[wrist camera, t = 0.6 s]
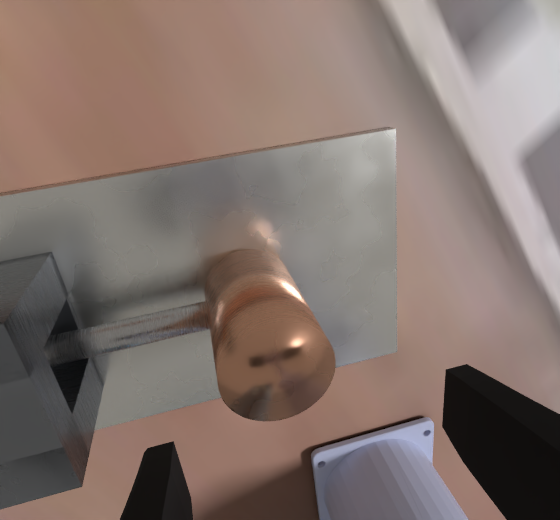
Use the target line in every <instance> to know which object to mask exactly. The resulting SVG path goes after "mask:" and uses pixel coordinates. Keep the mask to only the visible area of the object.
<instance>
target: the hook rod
mask: <svg viewBox="0 0 560 520" xmlns="http://www.w3.org/2000/svg"><path fill="white" fill-rule="evenodd" d="M205 330H210V335H211V342H212V349H213V355H214V362H215V369H216V376H217V383H218V389H219V392H220V395H221V397H222V399H223V401H224V402H225V404H226V405H227V406H228V407H229V408H230V409H231V410H232V411H234V412H235V413H237V414H238V415H240V416H242V417H245V418H248V419H251V420H256V421H276V420H282V419H286V418H289V417H292V416H294V415H297V414H299V413H301V412H303V411H305V410H306V409H308V408H309V407H311V406H312V405H313V404H314V403H316V402H317V401H318V400H319V399H320V398H321V397H322V396H323V394H324V393H325V392H326V390H327V389H328V387H329V385H330V384H331V381H332V379H333V376H334V373H335V367H336V359H335V353H334V350H333V347H332V346H331V344H330V342H329V340H328V338H327V337H326V335H325V333H324V332H323V330H322V328H321V326H320V325H319V323H318V321H317V320H316V318H315V316H314V314H313V313H312V311H311V309H310V308H309V306H308V304H307V302H306V301H305V299H304V297H303V296H302V294H301V292H300V290H299V289H298V287H297V285H296V284H295V282H294V280H293V278H292V277H291V275H290V273H289V272H288V270H287V268H286V266H285V265H284V264H283V263H282V262H281V261H280V260H279V259H278V258H277V257H276V256H274V255H272V254H270V253H268V252H265V251H262V250H255V249H247V250H241V251H237V252H234V253H232V254H230V255H228V256H226V257H224V258H223V259H222V260H220V261H219V262H218V263H217V264H216V265H215V266H214V267H213V269H212V270H211V272H210V273H209V275H208V277H207V280H206V283H205V301H204V302H199V303H195V304H190V305H186V306H181V307H177V308H172V309H168V310H164V311H159V312H155V313H150V314H146V315H141V316H137V317H132V318H128V319H123V320H119V321H114V322H110V323H105V324H101V325H96V326H92V327H87V328H83V329H78V330H74V331H69V332H65V333H60V334H56V335H51V336H49V337H48V339H47V342H46V344H45V346H44V348H43V351H44V353H45V356H46V358H47V360H48V362H49V364H50V367H51V366H55V365H60V364H64V363H68V362H72V361H77V360H81V359H85V358H90V357H94V356H98V355H102V354H107V353H111V352H115V351H120V350H124V349H128V348H132V347H137V346H141V345H145V344H150V343H154V342H158V341H162V340H167V339H171V338H175V337H180V336H184V335H188V334H192V333H197V332H201V331H205Z"/></svg>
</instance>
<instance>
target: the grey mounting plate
mask: <svg viewBox="0 0 560 520" xmlns="http://www.w3.org/2000/svg"><path fill="white" fill-rule="evenodd" d="M247 249H255V250H262V251H265V252H268V253H270V254H272V255H274V256H276V257H277V258H278V259H279V260H280V261H281V262H282V263H283V264H284V265H285V266H286V268H287V270H288V272H289V273H290V275H291V277H292V278H293V280H294V282H295V284H296V285H297V287H298V289H299V290H300V292H301V294H302V296H303V297H304V299H305V301H306V302H307V304H308V306H309V308H310V309H311V311H312V313H313V314H314V316H315V318H316V320H317V321H318V323H319V325H320V326H321V328H322V330H323V332H324V333H325V335H326V337H327V338H328V340H329V342H330V344H331V346H332V347H333V350H334V353H335V359H336V367H335V368H337V367H340V366H344V365H348V364H352V363H356V362H360V361H364V360H367V359H371V358H375V357H379V356H383V355H387V354H391V353H394V352H397V232H396V129H395V128H391V127H387V128H381V129H375V130H369V131H364V132H358V133H352V134H346V135H340V136H334V137H328V138H322V139H317V140H311V141H305V142H299V143H293V144H287V145H281V146H276V147H270V148H264V149H258V150H252V151H246V152H240V153H234V154H229V155H223V156H217V157H211V158H205V159H199V160H193V161H187V162H182V163H176V164H170V165H164V166H158V167H152V168H146V169H140V170H135V171H129V172H123V173H117V174H111V175H105V176H99V177H93V178H88V179H82V180H76V181H70V182H64V183H58V184H52V185H46V186H41V187H35V188H29V189H23V190H17V191H11V192H5V193H0V509H3V508H7V507H10V506H14V505H18V504H21V503H25V502H28V501H32V500H36V499H39V498H43V497H46V496H50V495H54V494H57V493H61V492H64V491H68V490H72V489H75V488H79V487H82V484H83V480H84V475H85V471H86V466H87V461H88V457H89V452H90V448H91V443H92V438H93V434H94V430H98V429H101V428H105V427H109V426H113V425H117V424H121V423H125V422H128V421H132V420H136V419H140V418H144V417H148V416H152V415H155V414H159V413H163V412H167V411H171V410H175V409H179V408H182V407H186V406H190V405H194V404H198V403H202V402H206V401H209V400H213V399H217V398H221V395H220V392H219V389H218V383H217V376H216V369H215V362H214V355H213V349H212V342H211V335H210V330H205V331H201V332H197V333H192V334H188V335H184V336H180V337H175V338H171V339H167V340H162V341H158V342H154V343H150V344H145V345H141V346H137V347H132V348H128V349H124V350H120V351H115V352H111V353H107V354H102V355H98V356H94V357H90V358H85V359H81V360H77V361H72V362H68V363H64V364H60V365H55V366H51V367H50V364H49V362H48V360H47V358H46V356H45V353H44V351H43V348H44V346H45V344H46V342H47V339H48V337H49V336H51V335H56V334H60V333H65V332H69V331H74V330H78V329H83V328H87V327H92V326H96V325H101V324H105V323H110V322H114V321H119V320H123V319H128V318H132V317H137V316H141V315H146V314H150V313H155V312H159V311H164V310H168V309H172V308H177V307H181V306H186V305H190V304H195V303H199V302H204V301H205V283H206V280H207V277H208V275H209V273H210V272H211V270H212V269H213V267H214V266H215V265H216V264H217V263H218V262H219V261H220V260H222V259H223V258H224V257H226V256H228V255H230V254H232V253H234V252H237V251H241V250H247Z"/></svg>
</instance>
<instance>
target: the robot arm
mask: <svg viewBox="0 0 560 520" xmlns="http://www.w3.org/2000/svg"><path fill="white" fill-rule="evenodd" d="M442 427H443V428H444V430H445V432H446V434H447V435H448V437H449V439H450V441H451V442H452V444H453V446H454V448H455V449H456V451H457V452H458V454H459V456H460V457H461V459H462V461H463V462H464V464H465V465H466V466H467V468H468V469H469V470H470V472H471V473H472V475H473V476H474V477H475V479H476V480H477V481H478V483H479V484H480V485H481V486H482V488H483V489H484V490H485V492H486V493H487V494H488V496H489V497H490V498H491V500H492V501H493V502H494V504H495V505H496V506H497V508H498V509H499V510H500V511H501V513H502V514H503V515H504V517H505V518H506V519H507V520H560V414H558V413H556V412H554V411H552V410H550V409H548V408H546V407H545V406H543V405H541V404H539V403H537V402H535V401H533V400H531V399H530V398H528V397H526V396H524V395H522V394H520V393H519V392H517V391H515V390H513V389H511V388H510V387H508V386H506V385H504V384H502V383H500V382H499V381H497V380H495V379H493V378H491V377H490V376H488V375H486V374H484V373H482V372H480V371H479V370H477V369H475V368H473V367H471V366H469V365H467V364H466V365H462V366H458V367H454V368H450V369H447V370H446V376H445V392H444V408H443V424H442ZM433 434H434V423H433V421H432V420H431V419H430V418H428V417H424V418H421V419H417V420H414V421H410V422H407V423H403V424H400V425H396V426H393V427H389V428H386V429H383V430H379V431H376V432H372V433H369V434H365V435H362V436H358V437H355V438H351V439H348V440H344V441H341V442H337V443H334V444H331V445H327V446H324V447H320V448H317V449H315V450H314V451H313V452H312V454H311V460H312V467H313V475H314V483H315V490H316V498H317V506H318V513H319V520H469V519H468V518H467V516H466V515H465V513H464V512H463V510H462V509H461V507H460V506H459V504H458V503H457V501H456V500H455V498H454V497H453V495H452V494H451V492H450V491H449V489H448V488H447V486H446V485H445V483H444V482H443V480H442V479H441V477H440V476H439V474H438V473H437V471H436V470H435V468H434V467H433V465H432V457H433ZM120 520H193V514H192V503H191V496H190V493H189V490H188V487H187V484H186V480H185V477H184V474H183V471H182V467H181V464H180V461H179V458H178V454H177V451H176V448H175V445H174V441H173V442H169V443H166V444H162V445H158V446H154V447H150V448H148V449H147V450H146V451H145V452H144V455H143V458H142V461H141V464H140V467H139V470H138V473H137V476H136V479H135V482H134V485H133V487H132V490H131V493H130V495H129V498H128V500H127V503H126V506H125V508H124V511H123V513H122V515H121V518H120Z"/></svg>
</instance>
